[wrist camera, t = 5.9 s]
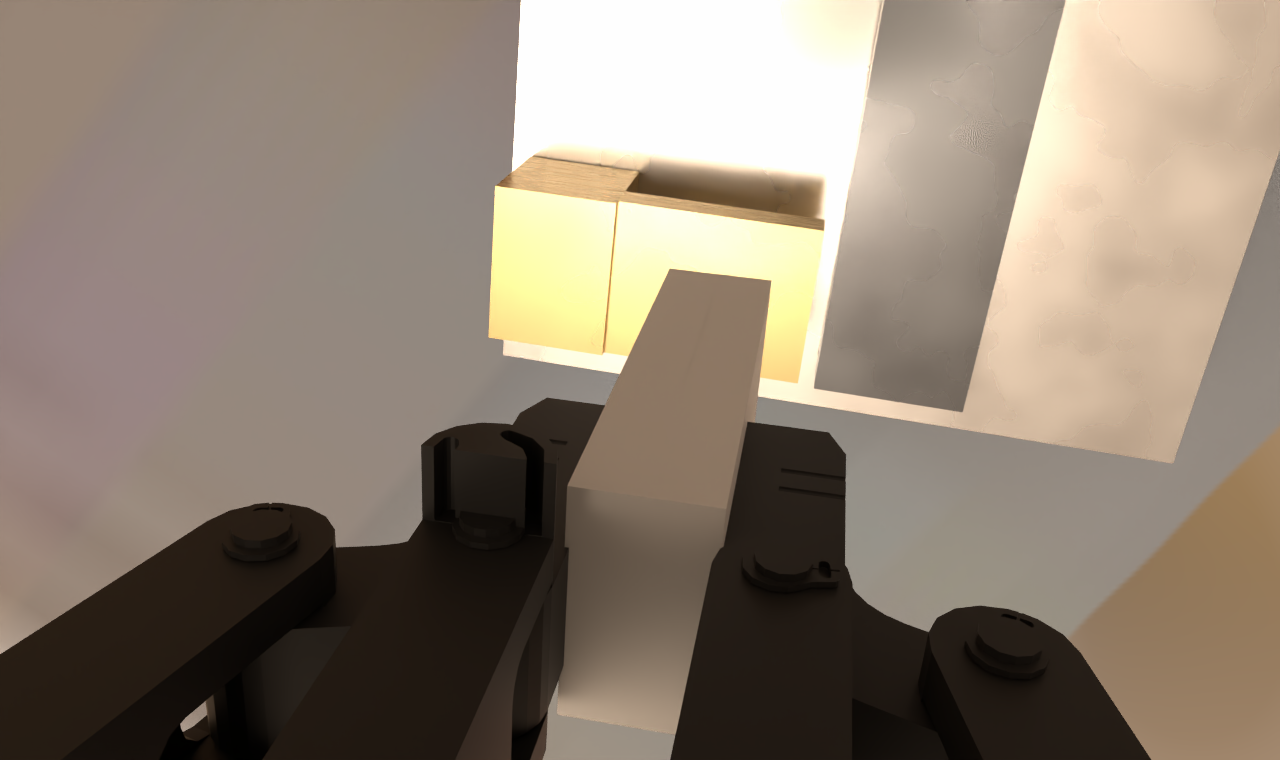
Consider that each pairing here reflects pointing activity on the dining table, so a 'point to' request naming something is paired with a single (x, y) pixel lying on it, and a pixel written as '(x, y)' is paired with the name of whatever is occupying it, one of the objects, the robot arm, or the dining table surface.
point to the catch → (634, 260)
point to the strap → (932, 194)
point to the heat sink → (1045, 204)
